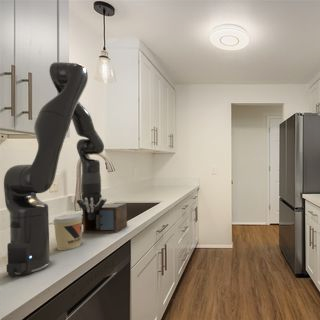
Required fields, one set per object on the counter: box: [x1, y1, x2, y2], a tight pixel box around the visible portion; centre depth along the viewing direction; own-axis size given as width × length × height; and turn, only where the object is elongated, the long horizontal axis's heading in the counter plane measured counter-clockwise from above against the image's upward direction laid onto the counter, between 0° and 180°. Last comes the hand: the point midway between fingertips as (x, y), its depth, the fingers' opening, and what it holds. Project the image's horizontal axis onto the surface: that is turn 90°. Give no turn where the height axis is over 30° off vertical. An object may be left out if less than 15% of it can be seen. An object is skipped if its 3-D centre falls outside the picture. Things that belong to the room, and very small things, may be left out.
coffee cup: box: [53, 213, 83, 251], centre depth 94 cm, size 9×9×12 cm
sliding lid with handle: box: [96, 210, 114, 230], centre depth 110 cm, size 5×7×9 cm
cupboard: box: [82, 202, 128, 234], centre depth 116 cm, size 10×16×12 cm, turn 89°
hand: (92, 219), depth 108 cm, fingers closed
